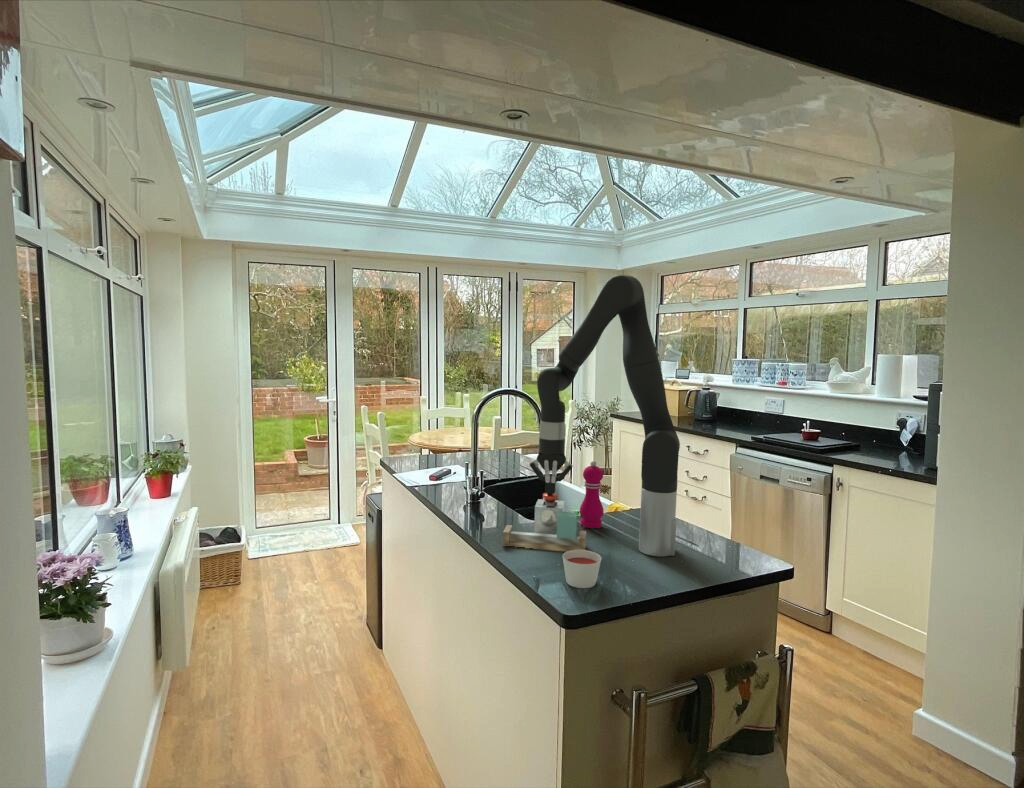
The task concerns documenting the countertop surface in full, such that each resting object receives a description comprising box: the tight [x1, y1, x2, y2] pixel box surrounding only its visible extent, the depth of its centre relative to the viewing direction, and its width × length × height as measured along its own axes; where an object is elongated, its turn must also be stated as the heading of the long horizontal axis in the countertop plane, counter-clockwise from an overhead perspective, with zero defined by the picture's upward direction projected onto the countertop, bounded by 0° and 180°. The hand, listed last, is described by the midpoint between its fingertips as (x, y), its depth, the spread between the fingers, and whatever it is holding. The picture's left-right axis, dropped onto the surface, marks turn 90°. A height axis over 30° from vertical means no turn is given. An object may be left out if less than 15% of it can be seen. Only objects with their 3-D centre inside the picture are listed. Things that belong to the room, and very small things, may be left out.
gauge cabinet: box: [533, 498, 566, 535], centre depth 177 cm, size 8×8×8 cm
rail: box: [502, 524, 587, 552], centre depth 165 cm, size 22×6×4 cm, turn 81°
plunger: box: [542, 492, 559, 506], centre depth 177 cm, size 4×4×9 cm
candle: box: [562, 549, 602, 589], centre depth 141 cm, size 9×9×6 cm
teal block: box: [557, 511, 578, 539], centre depth 163 cm, size 5×4×6 cm
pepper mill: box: [579, 460, 604, 529], centre depth 182 cm, size 7×7×20 cm
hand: (550, 494), depth 177 cm, fingers closed
